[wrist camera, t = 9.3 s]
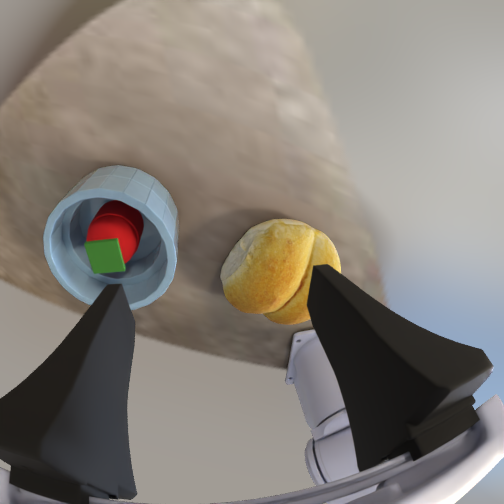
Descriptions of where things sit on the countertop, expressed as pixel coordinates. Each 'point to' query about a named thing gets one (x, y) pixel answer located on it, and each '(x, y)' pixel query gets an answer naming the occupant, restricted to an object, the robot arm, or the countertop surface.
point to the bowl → (150, 247)
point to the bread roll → (276, 269)
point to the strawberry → (113, 237)
